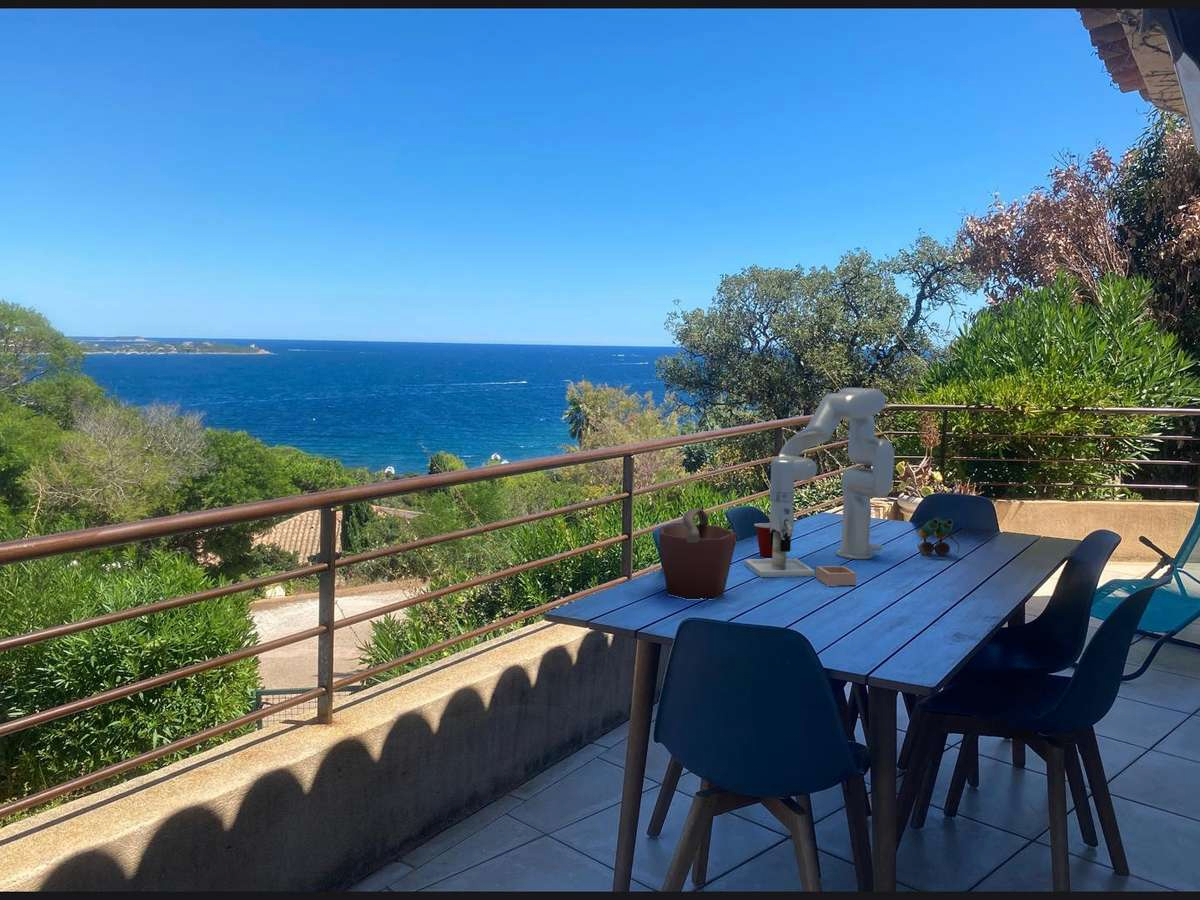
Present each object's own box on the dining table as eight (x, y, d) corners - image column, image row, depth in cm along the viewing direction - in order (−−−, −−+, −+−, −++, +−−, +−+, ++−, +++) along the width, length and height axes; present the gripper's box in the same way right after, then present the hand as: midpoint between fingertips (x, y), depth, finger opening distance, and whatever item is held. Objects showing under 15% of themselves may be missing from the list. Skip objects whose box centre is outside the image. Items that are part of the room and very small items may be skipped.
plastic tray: (795, 564, 278) (795, 558, 278) (814, 576, 263) (814, 570, 262) (744, 565, 276) (744, 559, 275) (760, 577, 260) (760, 571, 260)
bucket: (709, 609, 226) (711, 520, 223) (639, 596, 238) (641, 511, 235) (742, 589, 247) (745, 507, 244) (677, 577, 259) (679, 499, 256)
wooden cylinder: (782, 566, 272) (784, 531, 270) (787, 570, 267) (789, 533, 266) (770, 566, 271) (771, 531, 270) (774, 570, 267) (776, 534, 265)
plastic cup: (782, 554, 292) (783, 521, 291) (786, 561, 281) (787, 527, 280) (751, 553, 293) (752, 520, 292) (754, 560, 282) (755, 526, 281)
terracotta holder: (842, 578, 261) (843, 565, 261) (855, 585, 252) (856, 573, 252) (816, 578, 260) (816, 566, 260) (827, 586, 251) (828, 573, 251)
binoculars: (954, 566, 292) (950, 526, 299) (967, 554, 280) (962, 513, 286) (914, 564, 294) (910, 524, 300) (925, 552, 281) (921, 511, 287)
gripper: (803, 501, 258) (800, 554, 260) (783, 492, 275) (781, 541, 277) (780, 501, 257) (778, 554, 259) (761, 492, 274) (759, 542, 276)
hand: (779, 548), depth 268 cm, fingers open, 9 cm apart
